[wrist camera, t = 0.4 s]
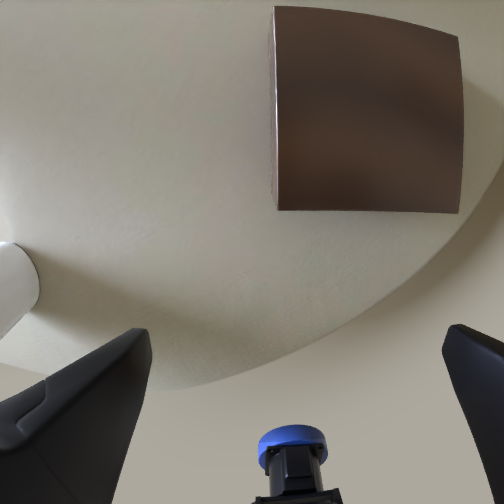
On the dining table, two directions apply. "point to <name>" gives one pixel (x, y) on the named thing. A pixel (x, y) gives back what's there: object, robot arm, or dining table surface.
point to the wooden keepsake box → (363, 113)
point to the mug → (15, 286)
